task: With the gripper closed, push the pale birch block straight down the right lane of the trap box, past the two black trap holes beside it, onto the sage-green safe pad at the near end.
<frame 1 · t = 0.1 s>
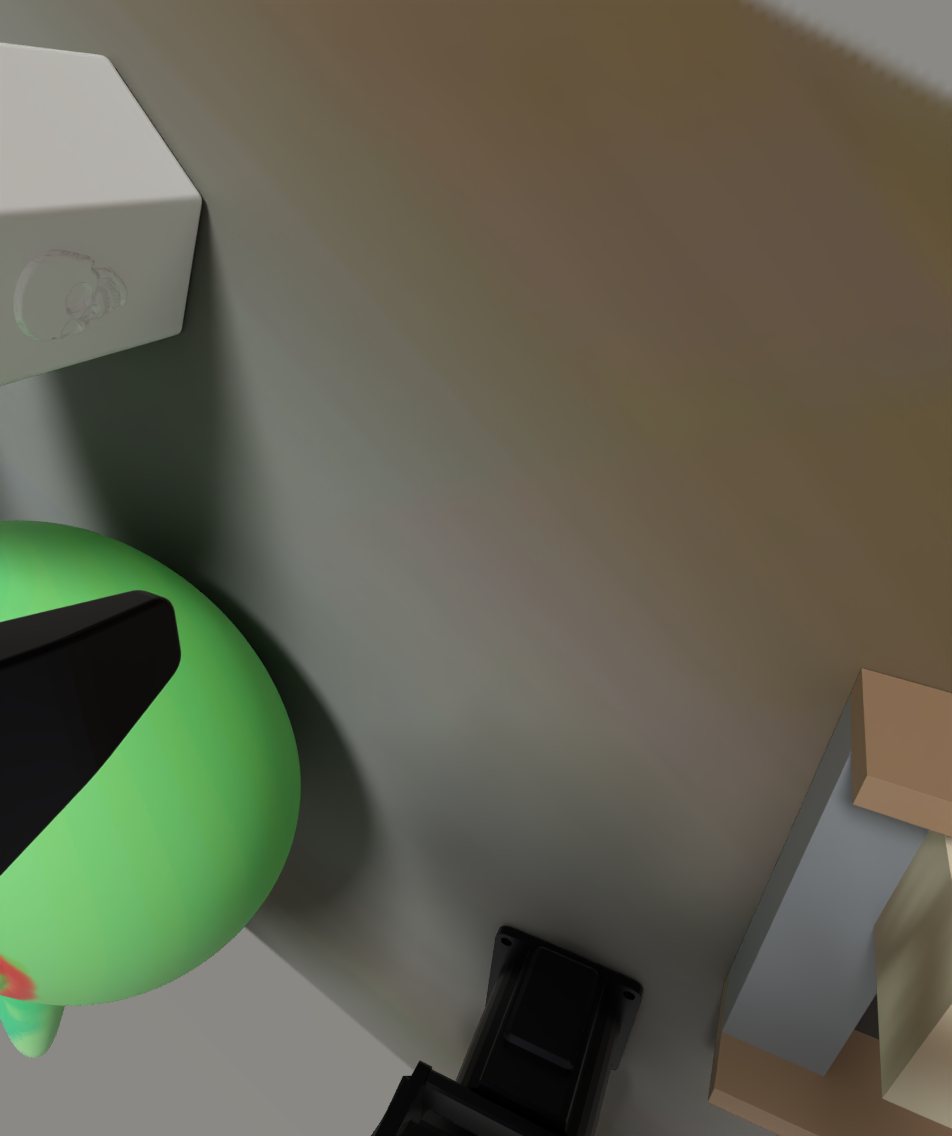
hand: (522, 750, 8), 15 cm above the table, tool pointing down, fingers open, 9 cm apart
jar: (103, 210, 24), on the table
toy bird: (194, 655, 34), on the table
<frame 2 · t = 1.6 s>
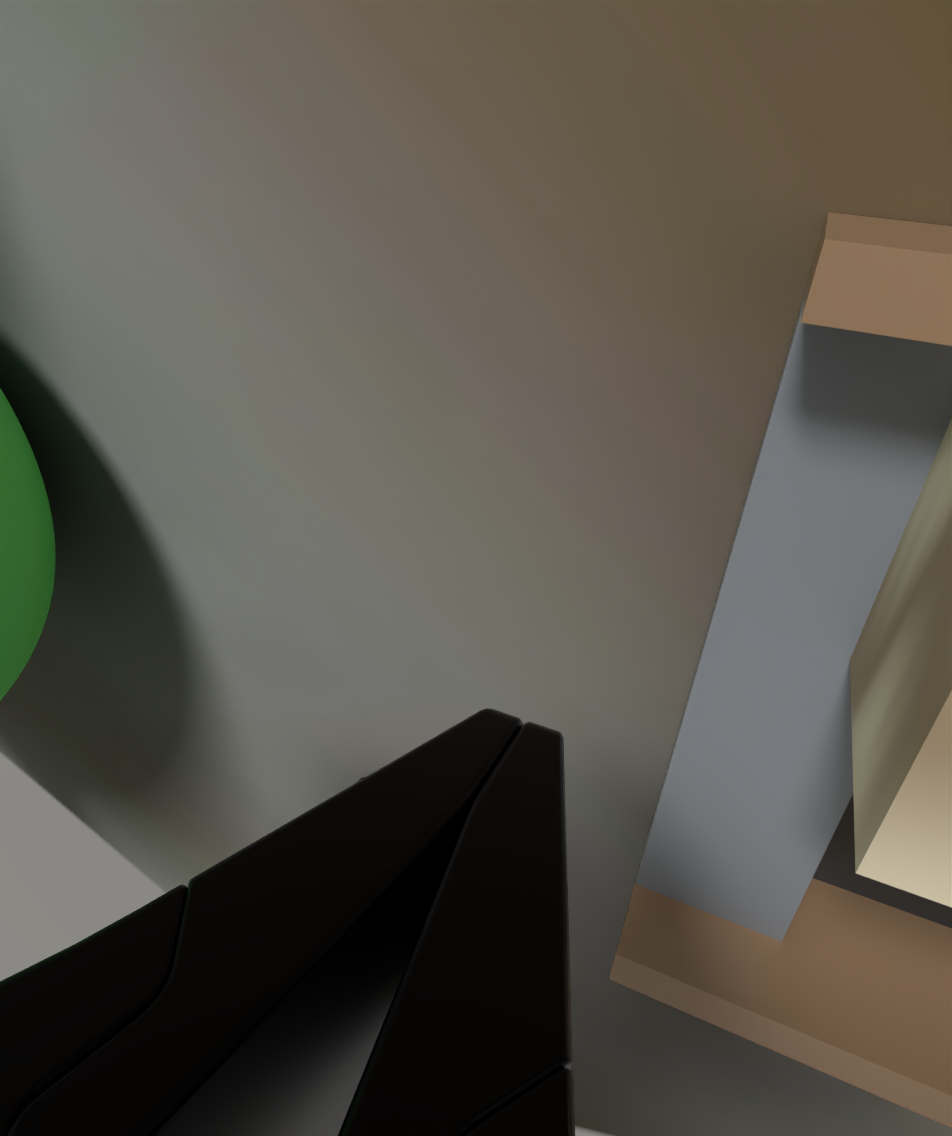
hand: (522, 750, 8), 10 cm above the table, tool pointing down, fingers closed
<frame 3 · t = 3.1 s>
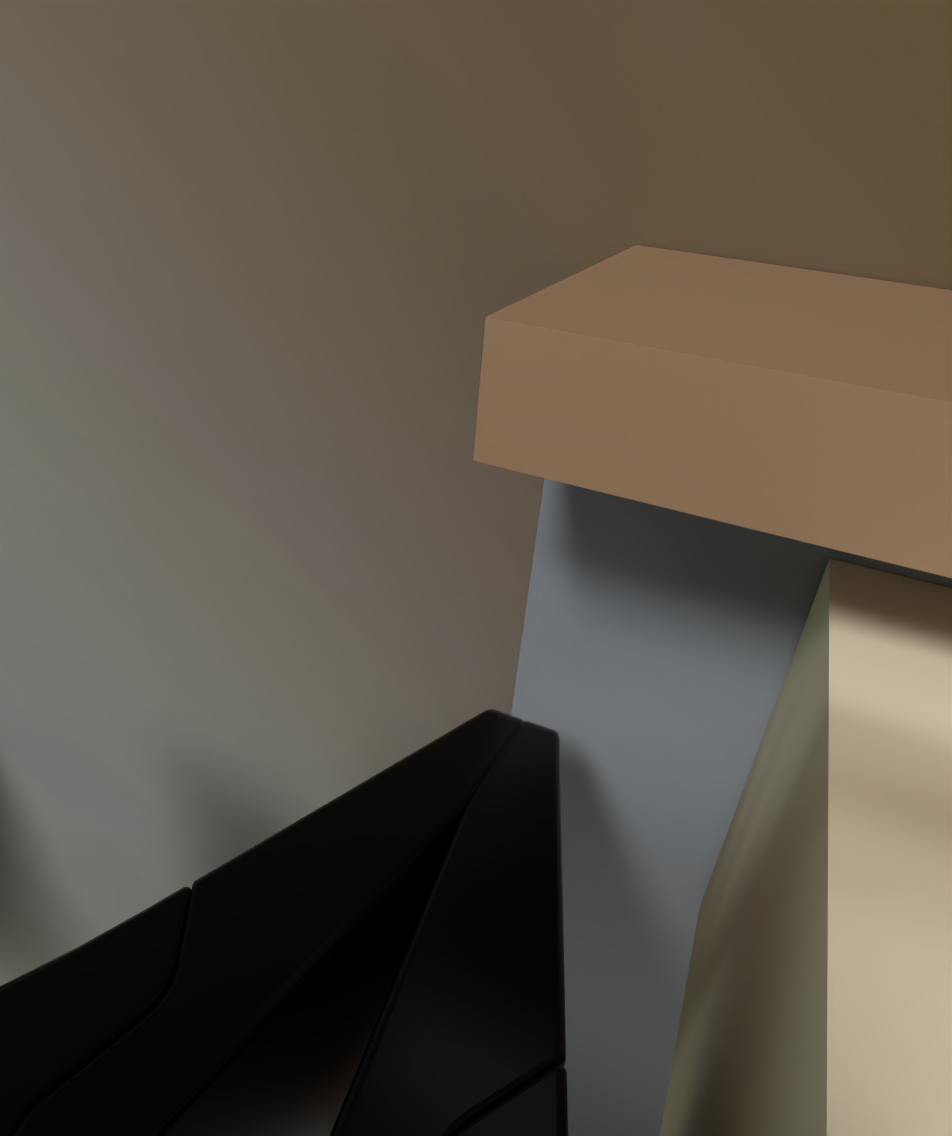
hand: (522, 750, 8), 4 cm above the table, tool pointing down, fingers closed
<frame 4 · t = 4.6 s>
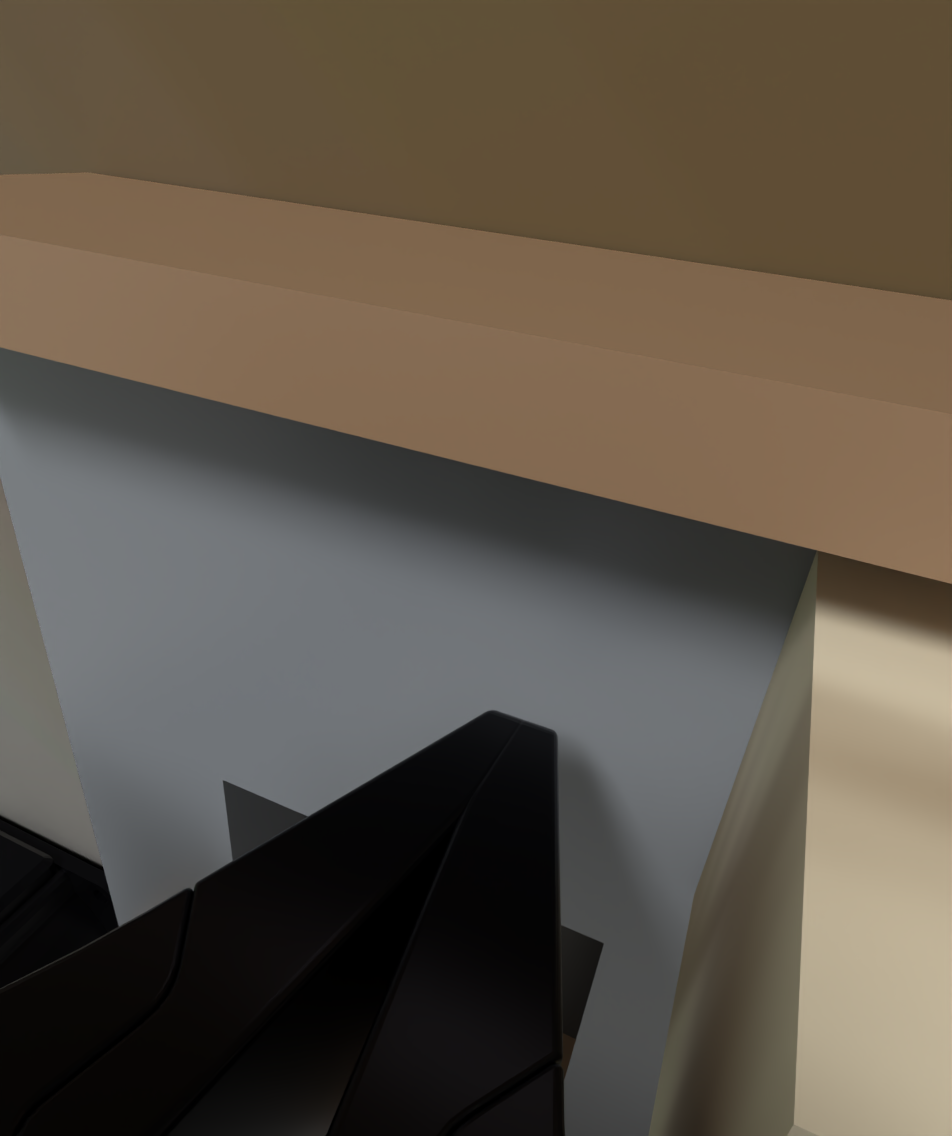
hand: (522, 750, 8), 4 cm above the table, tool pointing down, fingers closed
trap box: (709, 816, 12), on the table
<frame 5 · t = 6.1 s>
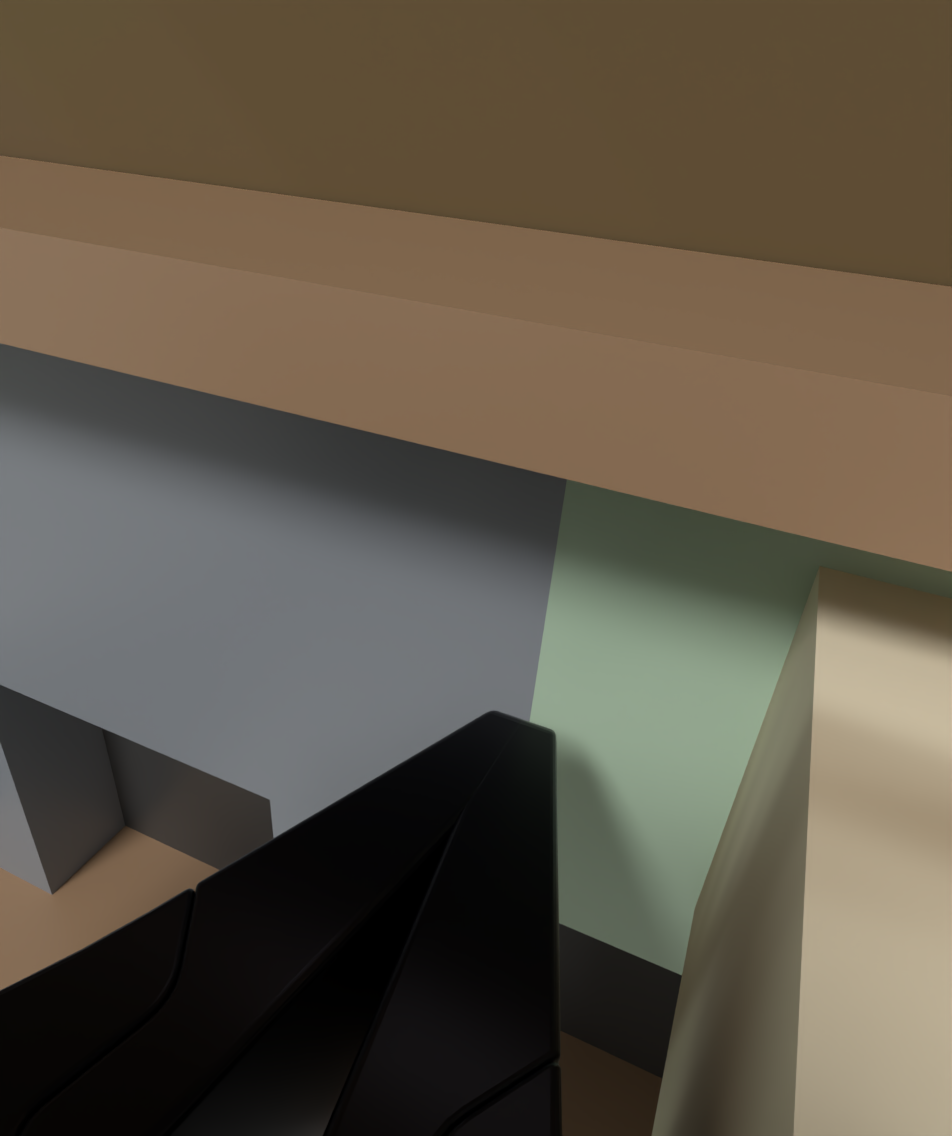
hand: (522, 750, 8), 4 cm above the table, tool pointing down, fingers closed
trap box: (400, 702, 13), on the table
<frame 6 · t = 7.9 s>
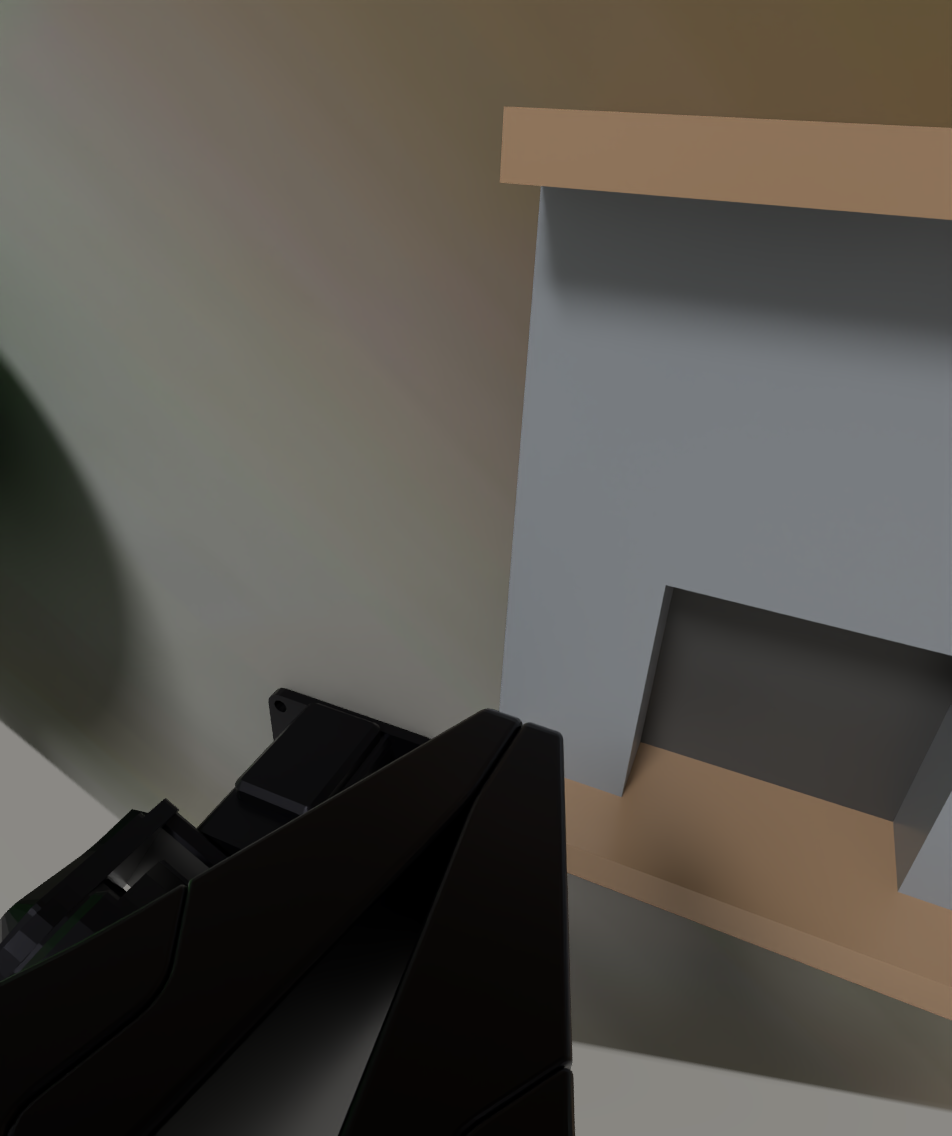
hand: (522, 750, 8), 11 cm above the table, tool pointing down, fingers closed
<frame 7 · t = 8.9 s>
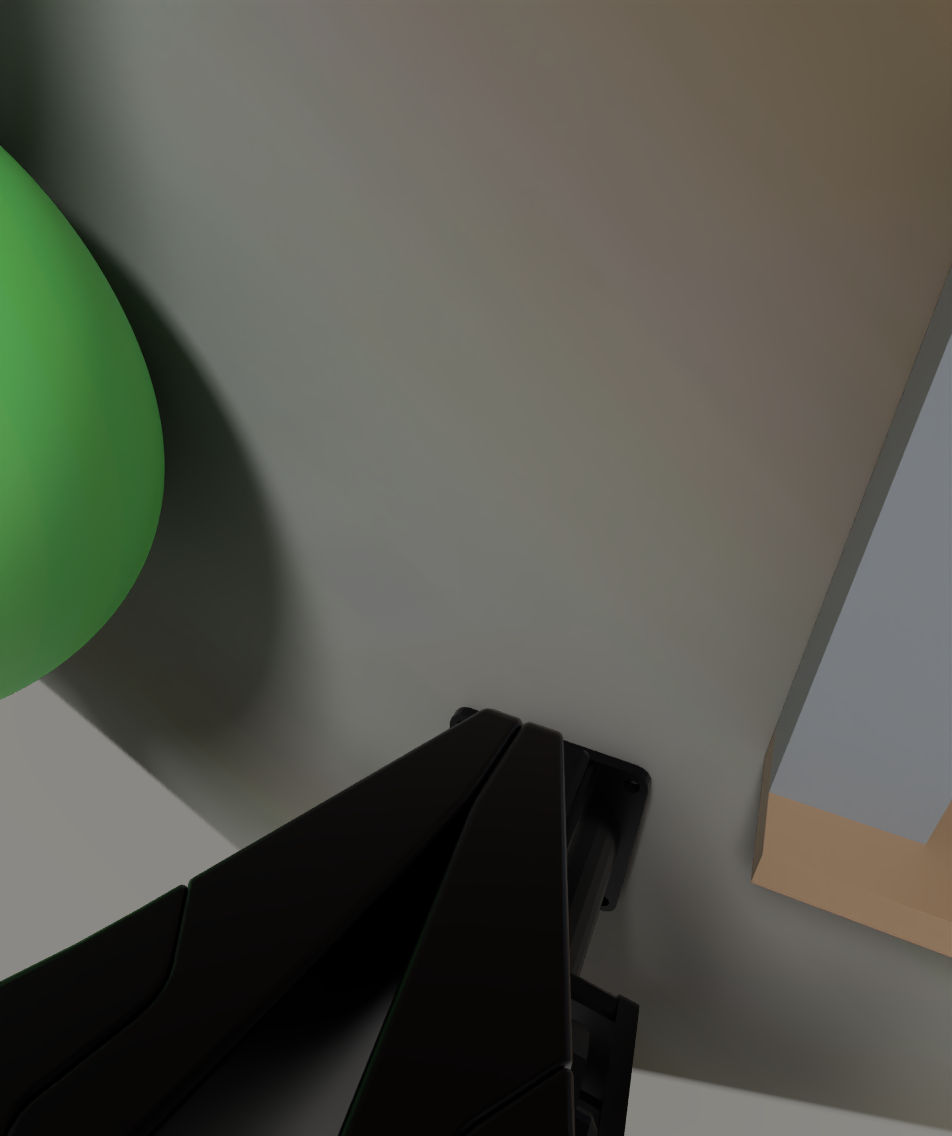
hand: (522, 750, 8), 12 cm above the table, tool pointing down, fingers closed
toy bird: (44, 345, 25), on the table
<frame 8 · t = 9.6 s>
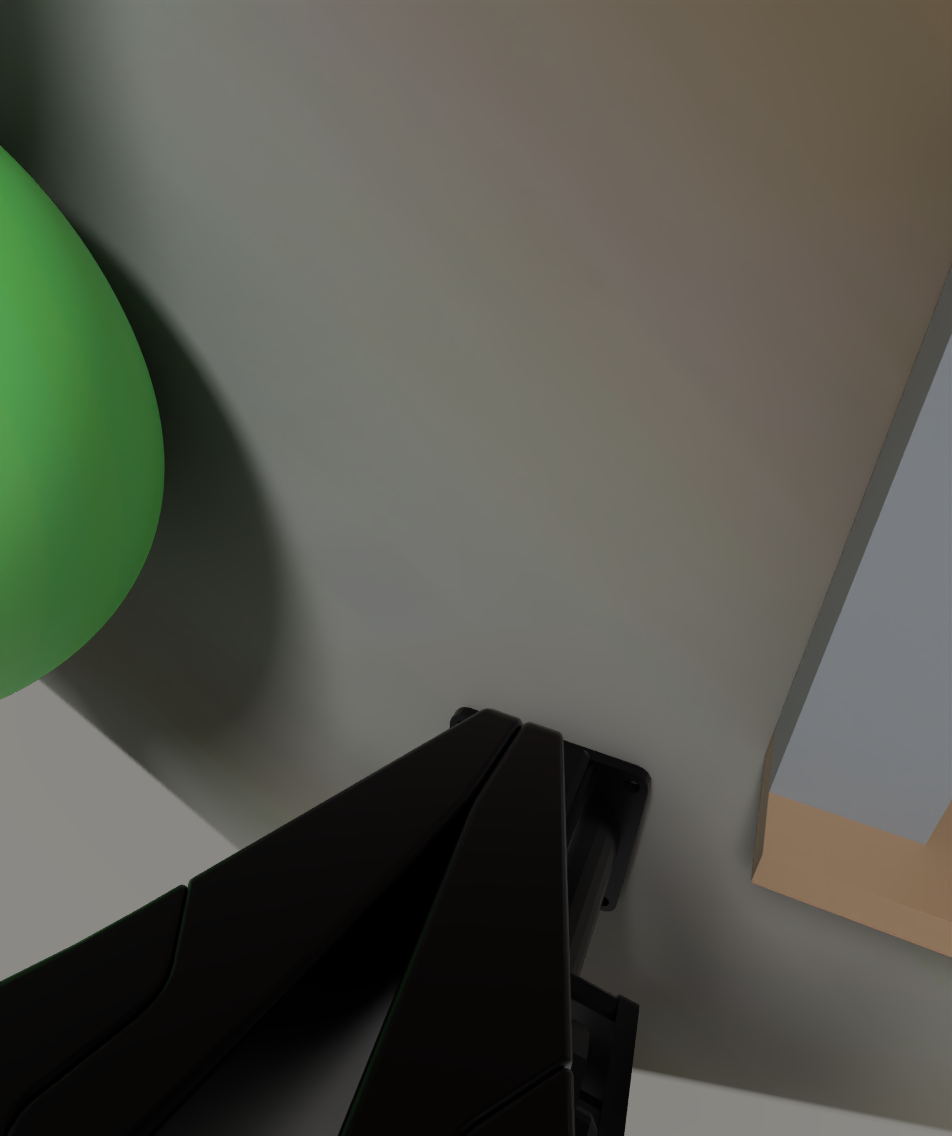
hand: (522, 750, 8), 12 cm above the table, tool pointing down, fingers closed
toy bird: (44, 345, 25), on the table
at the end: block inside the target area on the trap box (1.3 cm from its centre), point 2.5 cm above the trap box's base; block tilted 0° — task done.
